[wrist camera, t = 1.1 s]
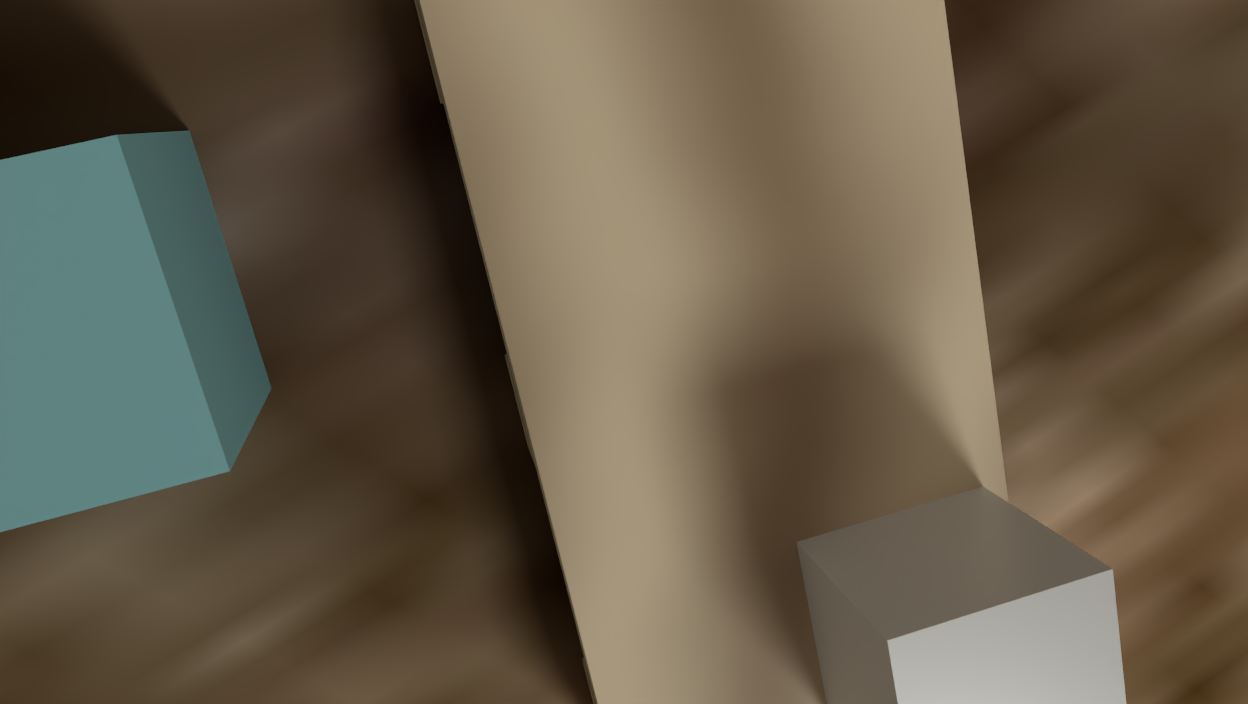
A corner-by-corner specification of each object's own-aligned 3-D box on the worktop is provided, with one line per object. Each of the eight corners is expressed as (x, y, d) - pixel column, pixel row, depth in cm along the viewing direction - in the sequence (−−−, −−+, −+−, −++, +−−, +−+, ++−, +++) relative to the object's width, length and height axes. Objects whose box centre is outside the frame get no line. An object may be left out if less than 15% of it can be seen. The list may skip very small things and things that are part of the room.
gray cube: (829, 717, 21) (922, 848, 17) (796, 541, 20) (887, 640, 16) (1006, 659, 22) (1133, 774, 18) (983, 486, 21) (1112, 569, 17)
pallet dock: (601, 735, 23) (624, 807, 21) (412, -6, 19) (413, -24, 17) (969, 618, 24) (1030, 672, 22) (866, -100, 20) (927, -129, 18)
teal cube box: (3, 456, 19) (-129, 566, 15) (-101, 193, 18) (-282, 220, 13) (271, 387, 20) (229, 471, 15) (190, 130, 19) (117, 134, 14)
